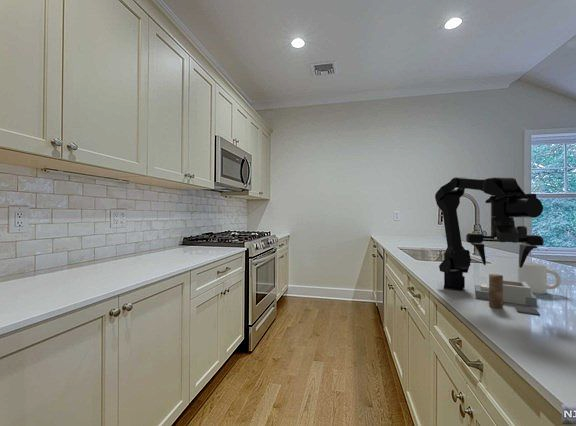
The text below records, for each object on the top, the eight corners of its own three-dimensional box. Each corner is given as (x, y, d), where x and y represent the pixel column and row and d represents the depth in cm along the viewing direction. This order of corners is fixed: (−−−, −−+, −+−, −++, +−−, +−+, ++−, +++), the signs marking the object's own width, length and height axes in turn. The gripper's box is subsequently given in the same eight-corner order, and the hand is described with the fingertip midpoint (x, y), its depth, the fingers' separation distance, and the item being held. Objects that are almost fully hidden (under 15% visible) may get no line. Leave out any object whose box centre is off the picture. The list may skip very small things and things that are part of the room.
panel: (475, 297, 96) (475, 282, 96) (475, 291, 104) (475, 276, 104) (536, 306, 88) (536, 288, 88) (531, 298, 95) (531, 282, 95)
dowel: (489, 307, 87) (489, 275, 87) (488, 304, 90) (488, 273, 90) (503, 309, 85) (503, 277, 85) (502, 306, 88) (502, 274, 88)
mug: (560, 292, 102) (560, 264, 102) (561, 297, 96) (561, 268, 96) (518, 286, 110) (518, 261, 110) (517, 291, 104) (517, 264, 104)
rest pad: (517, 312, 82) (517, 310, 82) (515, 307, 87) (515, 306, 87) (540, 315, 80) (540, 314, 80) (536, 310, 84) (536, 309, 84)
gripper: (471, 217, 85) (471, 268, 85) (551, 217, 76) (551, 274, 76) (466, 216, 95) (466, 262, 95) (536, 217, 86) (536, 267, 86)
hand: (502, 266), depth 88 cm, fingers open, 9 cm apart
